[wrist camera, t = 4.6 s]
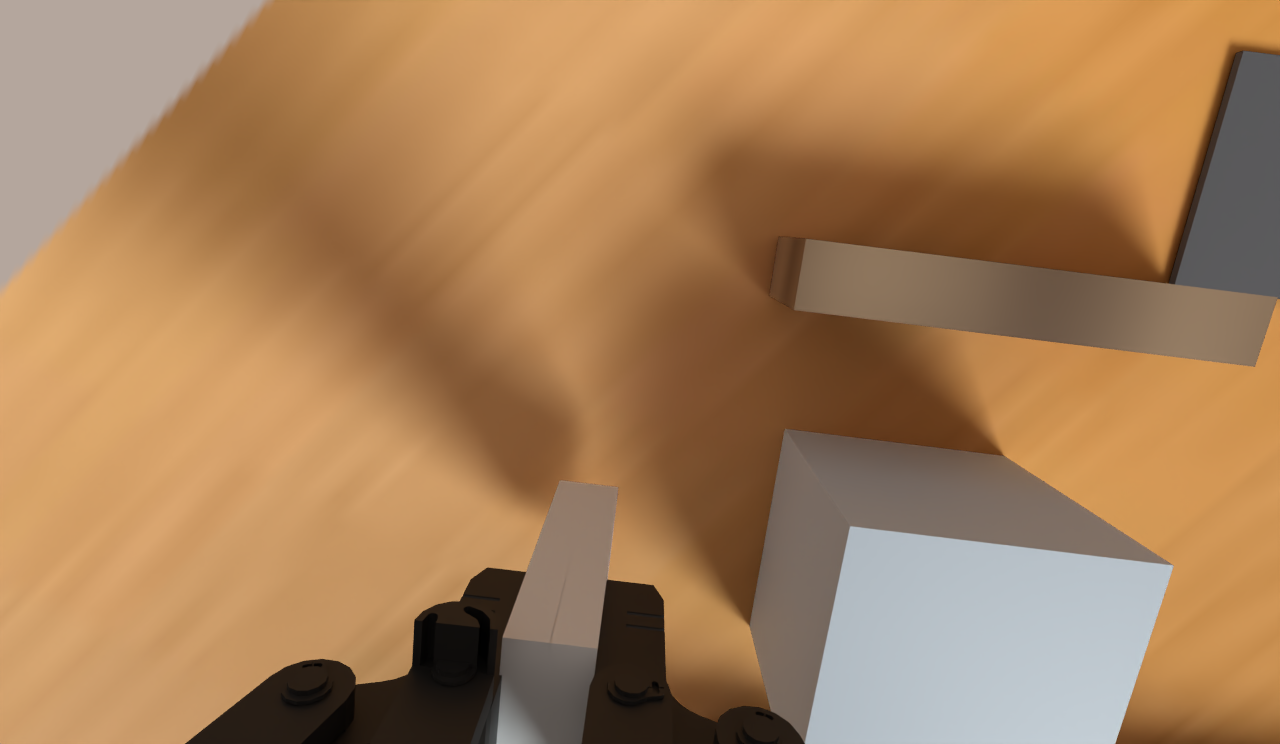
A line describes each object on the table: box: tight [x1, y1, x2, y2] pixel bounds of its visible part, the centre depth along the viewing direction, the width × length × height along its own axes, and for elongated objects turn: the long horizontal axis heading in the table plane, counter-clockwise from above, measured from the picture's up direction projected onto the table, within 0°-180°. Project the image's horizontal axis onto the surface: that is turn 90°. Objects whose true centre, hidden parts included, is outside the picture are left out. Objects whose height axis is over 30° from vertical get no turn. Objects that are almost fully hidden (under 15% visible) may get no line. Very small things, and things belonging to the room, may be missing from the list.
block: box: [750, 429, 1174, 744], centre depth 16 cm, size 6×6×6 cm
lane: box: [769, 237, 1278, 367], centre depth 17 cm, size 26×16×4 cm, turn 83°
